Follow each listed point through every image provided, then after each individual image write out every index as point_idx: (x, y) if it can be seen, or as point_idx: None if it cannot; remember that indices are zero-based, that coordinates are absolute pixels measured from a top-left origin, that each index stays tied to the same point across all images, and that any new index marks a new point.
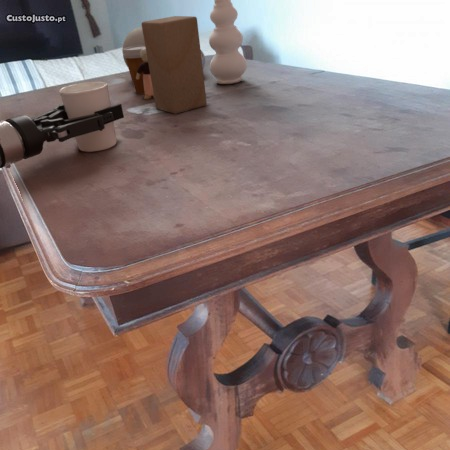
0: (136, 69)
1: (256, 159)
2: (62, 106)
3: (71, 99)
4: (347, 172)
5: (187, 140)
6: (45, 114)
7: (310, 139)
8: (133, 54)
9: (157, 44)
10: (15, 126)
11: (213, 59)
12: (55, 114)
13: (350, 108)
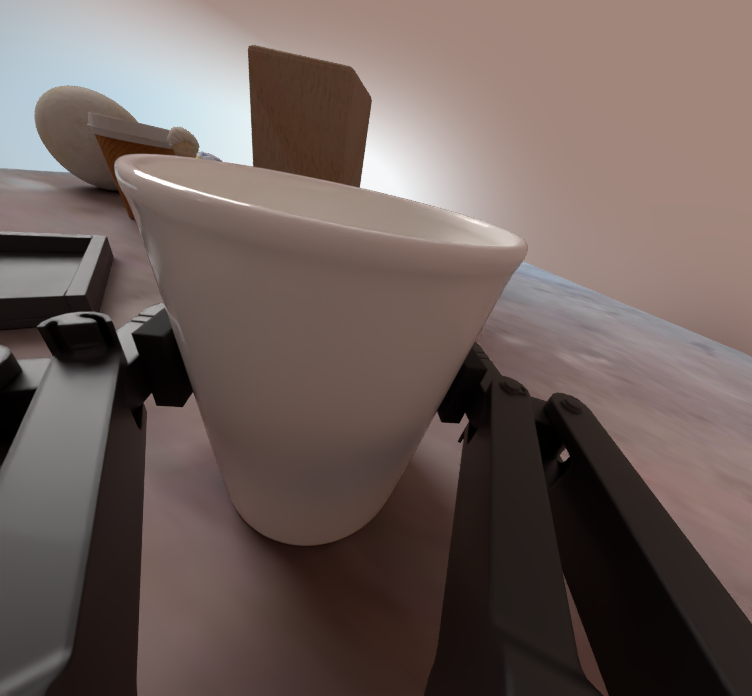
0: None
1: (704, 402)
2: (96, 327)
3: (429, 315)
4: None
5: (506, 363)
6: None
7: (618, 336)
8: (133, 133)
9: (315, 122)
10: None
11: None
12: (96, 476)
13: (519, 279)
